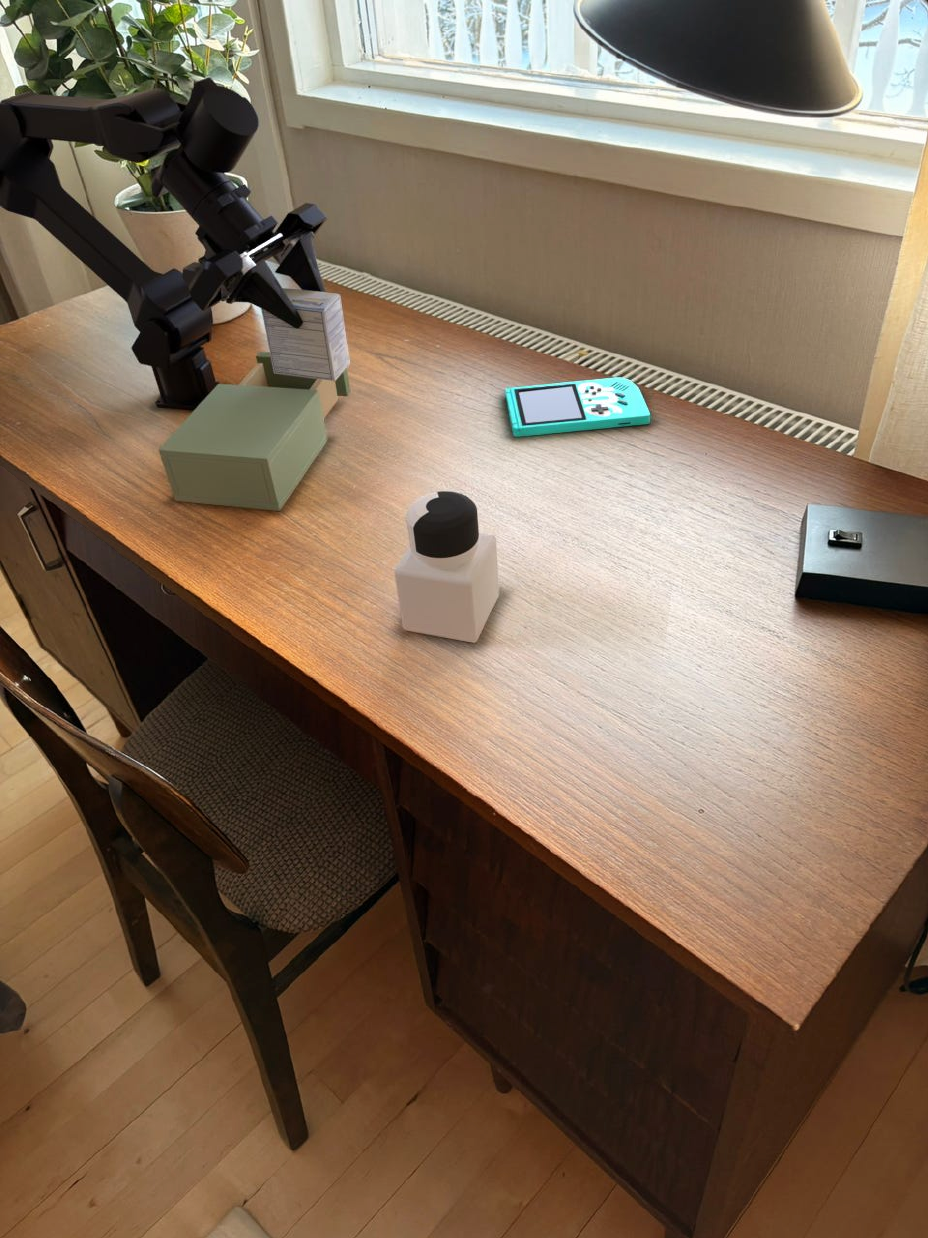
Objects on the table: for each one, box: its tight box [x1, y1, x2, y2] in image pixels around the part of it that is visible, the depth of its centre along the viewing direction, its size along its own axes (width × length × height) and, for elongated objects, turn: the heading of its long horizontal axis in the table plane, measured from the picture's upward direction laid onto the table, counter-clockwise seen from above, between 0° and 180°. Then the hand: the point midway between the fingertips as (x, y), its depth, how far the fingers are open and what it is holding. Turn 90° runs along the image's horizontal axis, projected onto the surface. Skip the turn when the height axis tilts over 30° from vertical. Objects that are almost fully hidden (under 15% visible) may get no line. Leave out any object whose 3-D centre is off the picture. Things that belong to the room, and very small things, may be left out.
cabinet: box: [158, 383, 329, 512], centre depth 106 cm, size 15×13×7 cm
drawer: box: [237, 351, 351, 419], centre depth 115 cm, size 18×11×5 cm, turn 165°
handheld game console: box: [504, 376, 651, 438], centre depth 112 cm, size 10×16×1 cm, turn 94°
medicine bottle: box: [394, 490, 500, 644], centre depth 83 cm, size 7×7×12 cm
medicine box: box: [260, 287, 351, 381], centre depth 106 cm, size 8×4×9 cm, turn 71°
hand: (313, 316), depth 104 cm, fingers closed on medicine box, 5 cm apart
